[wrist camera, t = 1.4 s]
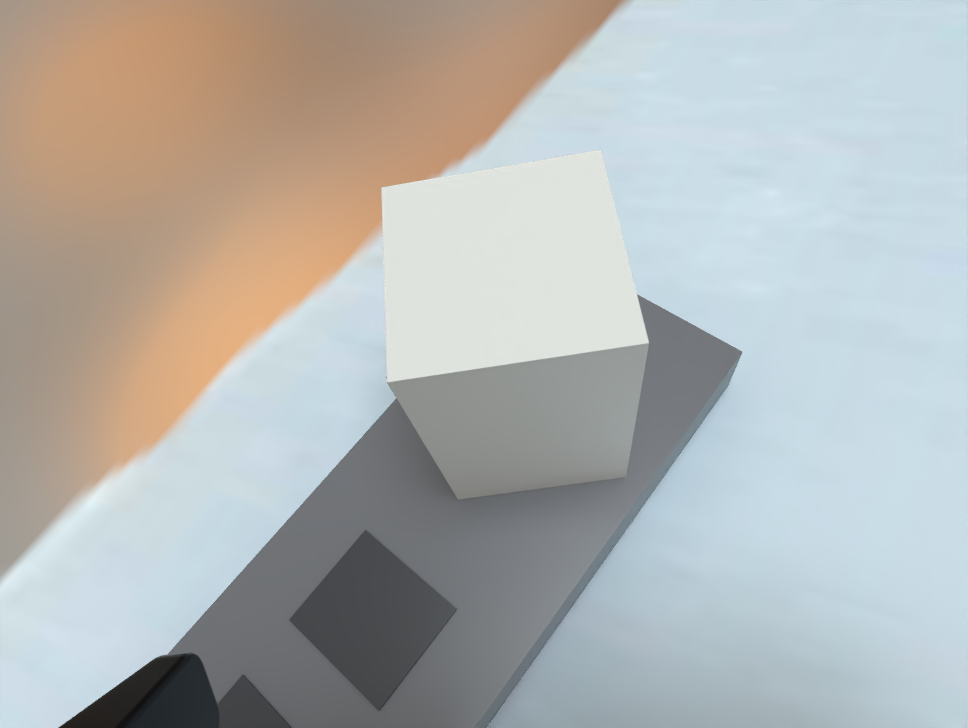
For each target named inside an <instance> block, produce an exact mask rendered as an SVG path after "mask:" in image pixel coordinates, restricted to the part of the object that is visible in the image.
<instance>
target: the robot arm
mask: <svg viewBox="0 0 968 728" xmlns="http://www.w3.org/2000/svg"><path fill="white" fill-rule="evenodd" d="M219 726H220V713H219V707H218V704H217V701H216V698H215V696H214V693H213V690H212V687H211V685H210V682H209V679H208V676H207V673H206V671H205V668H204V665H203V663H202V660H201V658H200V657H199V656H198V655H197V654H195V653H192V652H185V653H177V654H169V655H163V656H160V657H157V658H155V659H154V660H152V661H151V662H149V663H148V664H147V665H145V666H144V667H142V668H141V669H140V670H138V671H137V672H135V673H134V674H133V675H131V676H130V677H129V678H127V679H126V680H124V681H123V682H122V683H120V684H119V685H117V686H116V687H115V688H113V689H112V690H110V691H109V692H108V693H106V694H105V695H103V696H102V697H101V698H99V699H98V700H97V701H95V702H94V703H92V704H91V705H90V706H88V707H87V708H85V709H84V710H83V711H81V712H80V713H78V714H77V715H76V716H74V717H73V718H71V719H70V720H69V721H67V722H66V723H65V724H63V725H62V726H60V727H59V728H219Z"/></svg>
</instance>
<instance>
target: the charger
mask: <svg viewBox="0 0 968 728" xmlns="http://www.w3.org/2000/svg"><path fill="white" fill-rule="evenodd" d="M381 190H382V225H383V260H384V294H385V329H386V363H387V383H388V385H389V386H390V388H391V390H392V391H393V393H394V395H395V396H396V398H397V400H398V401H399V403H400V405H401V406H402V408H403V410H404V411H405V413H406V415H407V416H408V418H409V419H410V421H411V423H412V424H413V426H414V428H415V429H416V431H417V433H418V434H419V436H420V438H421V439H422V441H423V443H424V444H425V446H426V448H427V449H428V451H429V453H430V454H431V456H432V458H433V459H434V461H435V463H436V464H437V466H438V467H439V469H440V471H441V472H442V474H443V476H444V477H445V479H446V481H447V482H448V484H449V486H450V487H451V489H452V491H453V492H454V494H455V496H456V497H457V499H458V500H460V499H467V498H475V497H482V496H490V495H497V494H504V493H512V492H519V491H527V490H534V489H541V488H549V487H556V486H564V485H571V484H578V483H586V482H593V481H600V480H608V479H615V478H623V477H626V475H627V469H628V463H629V457H630V451H631V445H632V440H633V434H634V428H635V422H636V416H637V411H638V405H639V399H640V393H641V387H642V381H643V376H644V370H645V364H646V358H647V352H648V346H649V341H648V337H647V333H646V329H645V325H644V321H643V317H642V313H641V309H640V305H639V301H638V297H637V293H636V289H635V285H634V281H633V277H632V273H631V269H630V265H629V261H628V257H627V253H626V249H625V245H624V241H623V237H622V233H621V229H620V225H619V221H618V217H617V213H616V209H615V205H614V201H613V197H612V193H611V189H610V185H609V181H608V177H607V173H606V169H605V165H604V161H603V157H602V153H601V150H596V151H590V152H584V153H579V154H573V155H567V156H561V157H556V158H550V159H544V160H538V161H532V162H527V163H521V164H515V165H509V166H503V167H498V168H492V169H486V170H480V171H474V172H469V173H463V174H457V175H451V176H445V177H440V178H434V179H428V180H422V181H417V182H411V183H405V184H399V185H393V186H388V187H382V189H381Z"/></svg>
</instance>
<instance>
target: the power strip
mask: <svg viewBox="0 0 968 728" xmlns="http://www.w3.org/2000/svg"><path fill="white" fill-rule="evenodd" d="M637 297H638V301H639V305H640V309H641V313H642V317H643V321H644V325H645V329H646V333H647V337H648V341H649V346H648V352H647V358H646V364H645V370H644V376H643V381H642V387H641V393H640V399H639V405H638V411H637V416H636V422H635V428H634V434H633V440H632V445H631V451H630V457H629V463H628V469H627V475H626V477H623V478H615V479H608V480H600V481H593V482H586V483H578V484H571V485H564V486H556V487H549V488H541V489H534V490H527V491H519V492H512V493H504V494H497V495H490V496H482V497H475V498H467V499H460V500H458V499H457V497H456V496H455V494H454V492H453V491H452V489H451V487H450V486H449V484H448V482H447V481H446V479H445V477H444V476H443V474H442V472H441V471H440V469H439V467H438V466H437V464H436V463H435V461H434V459H433V458H432V456H431V454H430V453H429V451H428V449H427V448H426V446H425V444H424V443H423V441H422V439H421V438H420V436H419V434H418V433H417V431H416V429H415V428H414V426H413V424H412V423H411V421H410V419H409V418H408V416H407V415H406V413H405V411H404V410H403V408H402V406H401V405H400V403H399V401H398V400H397V399H396V400H395V401H394V402H393V403H392V404H391V405H390V406H389V407H388V409H387V410H386V411H385V412H384V413H383V414H382V415H381V416H380V418H379V419H378V420H377V421H376V422H375V423H374V424H373V425H372V426H371V428H370V429H369V430H368V431H367V432H366V433H365V434H364V435H363V437H362V438H361V439H360V440H359V441H358V442H357V443H356V444H355V445H354V447H353V448H352V449H351V450H350V451H349V452H348V453H347V454H346V456H345V457H344V458H343V459H342V460H341V461H340V462H339V463H338V465H337V466H336V467H335V468H334V469H333V470H332V471H331V472H330V473H329V475H328V476H327V477H326V478H325V479H324V480H323V481H322V482H321V484H320V485H319V486H318V487H317V488H316V489H315V490H314V491H313V492H312V494H311V495H310V496H309V497H308V498H307V499H306V500H305V501H304V503H303V504H302V505H301V506H300V507H299V508H298V509H297V510H296V511H295V513H294V514H293V515H292V516H291V517H290V518H289V519H288V520H287V522H286V523H285V524H284V525H283V526H282V527H281V528H280V529H279V530H278V532H277V533H276V534H275V535H274V536H273V537H272V538H271V539H270V541H269V542H268V543H267V544H266V545H265V546H264V547H263V548H262V549H261V551H260V552H259V553H258V554H257V555H256V556H255V557H254V558H253V560H252V561H251V562H250V563H249V564H248V565H247V566H246V567H245V568H244V570H243V571H242V572H241V573H240V574H239V575H238V576H237V577H236V579H235V580H234V581H233V582H232V583H231V584H230V585H229V586H228V587H227V589H226V590H225V591H224V592H223V593H222V594H221V595H220V596H219V598H218V599H217V600H216V601H215V602H214V603H213V604H212V605H211V606H210V608H209V609H208V610H207V611H206V612H205V613H204V614H203V615H202V617H201V618H200V619H199V620H198V621H197V622H196V623H195V624H194V625H193V627H192V628H191V629H190V630H189V631H188V632H187V633H186V634H185V636H184V637H183V638H182V639H181V640H180V641H179V642H178V643H177V644H176V646H175V647H174V648H173V649H172V650H171V651H170V652H169V653H168V655H169V654H177V653H185V652H192V653H195V654H197V655H198V656H199V657H200V658H201V660H202V663H203V665H204V668H205V671H206V673H207V676H208V679H209V682H210V685H211V687H212V690H213V693H214V696H215V698H216V701H217V704H218V707H219V713H220V726H219V728H486V727H487V726H488V724H489V723H490V721H491V720H492V719H493V717H494V716H495V714H496V713H497V712H498V710H499V709H500V707H501V706H502V705H503V703H504V702H505V700H506V699H507V697H508V696H509V695H510V693H511V692H512V690H513V689H514V688H515V686H516V685H517V683H518V682H519V680H520V679H521V678H522V676H523V675H524V673H525V672H526V671H527V669H528V668H529V666H530V665H531V664H532V662H533V661H534V659H535V658H536V656H537V655H538V654H539V652H540V651H541V649H542V648H543V647H544V645H545V644H546V642H547V641H548V640H549V638H550V637H551V635H552V634H553V632H554V631H555V630H556V628H557V627H558V625H559V624H560V623H561V621H562V620H563V618H564V617H565V615H566V614H567V613H568V611H569V610H570V608H571V607H572V606H573V604H574V603H575V601H576V600H577V599H578V597H579V596H580V594H581V593H582V591H583V590H584V589H585V587H586V586H587V584H588V583H589V582H590V580H591V579H592V577H593V576H594V574H595V573H596V572H597V570H598V569H599V567H600V566H601V565H602V563H603V562H604V560H605V559H606V558H607V556H608V555H609V553H610V552H611V550H612V549H613V548H614V546H615V545H616V543H617V542H618V541H619V539H620V538H621V536H622V535H623V534H624V532H625V531H626V529H627V528H628V526H629V525H630V524H631V522H632V521H633V519H634V518H635V517H636V515H637V514H638V512H639V511H640V509H641V508H642V507H643V505H644V504H645V502H646V501H647V500H648V498H649V497H650V495H651V494H652V493H653V491H654V490H655V488H656V487H657V485H658V484H659V483H660V481H661V480H662V478H663V477H664V476H665V474H666V473H667V471H668V470H669V468H670V467H671V466H672V464H673V463H674V461H675V460H676V459H677V457H678V456H679V454H680V453H681V452H682V450H683V449H684V447H685V446H686V444H687V443H688V442H689V440H690V439H691V437H692V436H693V435H694V433H695V432H696V430H697V429H698V428H699V426H700V425H701V423H702V422H703V420H704V419H705V418H706V416H707V415H708V413H709V412H710V411H711V409H712V408H713V406H714V405H715V403H716V402H717V401H718V399H719V398H720V396H721V395H722V394H723V392H724V391H725V389H726V388H727V387H728V385H729V382H730V380H731V378H732V375H733V373H734V371H735V368H736V366H737V364H738V361H739V359H740V357H741V354H742V351H740V350H738V349H736V348H734V347H733V346H731V345H729V344H727V343H725V342H723V341H722V340H720V339H718V338H716V337H714V336H712V335H710V334H709V333H707V332H705V331H703V330H701V329H699V328H698V327H696V326H694V325H692V324H690V323H688V322H687V321H685V320H683V319H681V318H679V317H677V316H676V315H674V314H672V313H670V312H668V311H666V310H665V309H663V308H661V307H659V306H657V305H655V304H654V303H652V302H650V301H648V300H646V299H644V298H643V297H641V296H639V295H637Z"/></svg>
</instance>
